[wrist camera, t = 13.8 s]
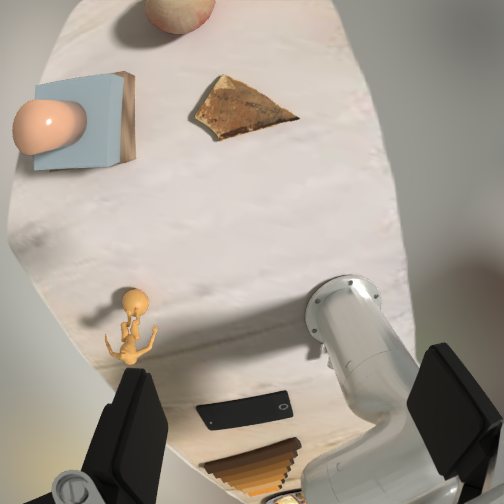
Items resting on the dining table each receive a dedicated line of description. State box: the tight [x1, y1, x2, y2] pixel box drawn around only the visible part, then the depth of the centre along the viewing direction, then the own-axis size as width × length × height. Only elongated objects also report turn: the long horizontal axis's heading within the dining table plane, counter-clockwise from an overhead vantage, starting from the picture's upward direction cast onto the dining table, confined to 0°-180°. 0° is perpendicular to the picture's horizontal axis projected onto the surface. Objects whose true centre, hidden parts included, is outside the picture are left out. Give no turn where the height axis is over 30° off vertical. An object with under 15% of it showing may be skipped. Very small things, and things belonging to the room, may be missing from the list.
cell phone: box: [196, 390, 293, 430], centre depth 56 cm, size 9×18×1 cm, turn 103°
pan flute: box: [204, 437, 302, 496], centre depth 66 cm, size 25×3×25 cm
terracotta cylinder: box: [12, 100, 87, 155], centre depth 23 cm, size 5×5×7 cm
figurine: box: [105, 289, 158, 365], centre depth 39 cm, size 8×6×12 cm
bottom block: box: [50, 71, 136, 172], centre depth 32 cm, size 11×11×4 cm
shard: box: [195, 74, 300, 141], centre depth 35 cm, size 11×8×2 cm
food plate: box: [266, 491, 307, 504], centre depth 79 cm, size 25×23×4 cm
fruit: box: [145, 0, 215, 34], centre depth 25 cm, size 8×8×8 cm
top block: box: [34, 73, 124, 170], centre depth 28 cm, size 10×10×4 cm
